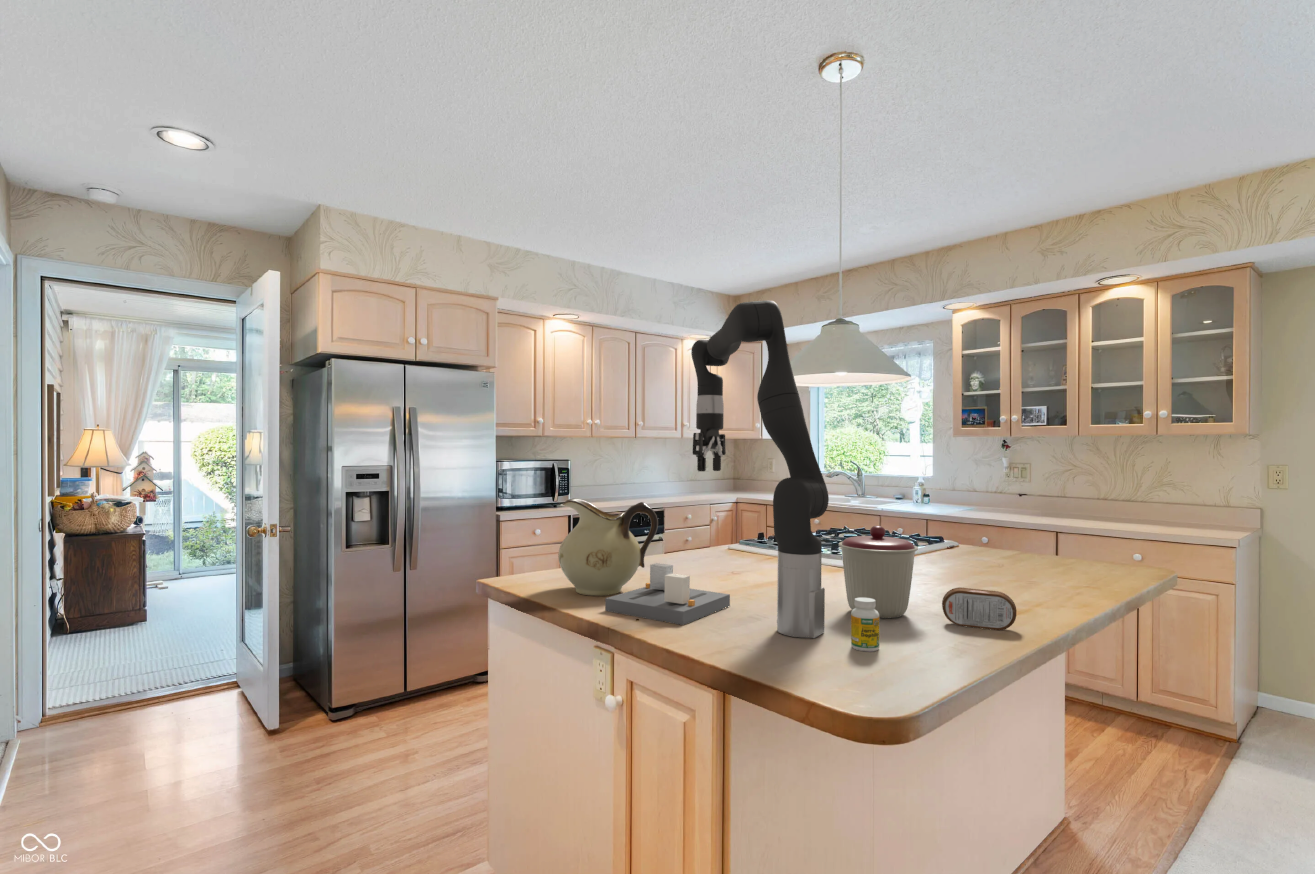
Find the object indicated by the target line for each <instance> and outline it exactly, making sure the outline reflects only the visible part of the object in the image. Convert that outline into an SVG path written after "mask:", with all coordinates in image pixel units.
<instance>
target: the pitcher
mask: <svg viewBox="0 0 1315 874" xmlns="http://www.w3.org/2000/svg"><path fill="white" fill-rule="evenodd" d="M562 506H563V507H567V508H570V509H573V510H574V511H576V512H577V514H578V516H579V520H578V523H577V524H576V525H575V526H574V528H573V529H572V530H571V531H570V532H569V533H568V534H567V535H566V536H565V537H564V539H563V540H562V542H561V544H560V546H559V549H558V563H559V567H560V568H561V571H562V574H563V575H564V576H565V577H566V578H567V580H568V581H569V582H570V583H571V584H572V585H573V586H574V587H575V592H576V593H577V594H580V595H584V596H590V597H603V596H607V597H608V596H611V595H612V596H614V595H618V594H620V593H621V592H622V588H623V587H624V586H625V585H626V584H627V583H628V582H629V581H630V580H631V579H632V578H633V577H634V575H635V574H636V572H637V571H638V568H639V567H641V568H642V569H643V568H645V555H646V552H647V550H648V548H649V546H650V545H651V542H652V541H653V540H654V538H655V536H656V534H657V531H658V527H659V519H658V515H657V513H656V512H655V511H654V509H653V508H652V507H651V506H649V505H648V504H647V503H645V502H644V501H641V502H638V503H636V504H633V505H631V506H630V507H628V508H627V509H626V510H625V512H623V511H622V512H620V513H619V514H611V513H609V512H606V511H603V510H602V509H600V508H598V507H597V506H595V505H594V504H592V503H591V502H589V501H587V500H583V499H581V498H576V497H575V498H570V499H567V500H566V501H564V502H563V503H562ZM636 514H645V515H647V516H648V518H649V520H650V529H649V532H648V534H647V537H646V538H645V540H644V541H643V543H642V545H641V546H640V544H639V541H638V540H637V538H636V537H635V535H634V534H633V533H632V532H631V530H630V524H631V521H632V518H633V516H635V515H636Z"/></svg>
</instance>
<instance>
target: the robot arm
mask: <svg viewBox="0 0 1315 874" xmlns="http://www.w3.org/2000/svg"><path fill="white" fill-rule="evenodd" d="M785 330H786V329H785V326H784V319H783V316H782V313H781V310H780V307H779V305H778V303H776V301H774V300H769V299H768V300H755V301H754V300H753V301H743V302H739V303H738V304H736V305H735V306H734V307H733V309H732V310H731V311H730V312H729V314H728V315H727V318H726V319H725V321H724V323H723V325H722V327H720V329H718V330H717V331H716V332H715V333H714V334H713V335H712V336H710V338H709V339H708V340H706V339H699V340H696V341H695V342H694V343H693V345H692V347H691V353H690V354H691V358H692V362H693V365H694V369H695V374H696V375H695V376H696V381H697V397H696V398H697V399H696V404H695V405H696V406H695V408H696V410H695V411H696V412H695V414H696V415H695V417H696V423H695V425H696V427H695V428H696V429H697V430H700V431H699V432H693V434H692V455H694V456H695V457H696V459H697V463H696V464H697V465H696V467H697V470H696V471H698V472H706V470H707V463H706V462H707V460H706V459H707V458H706V456H707V454H708V452H711V454H712V470H713V471H714V472H720V471H721V470H722V457H723V456H726V453H727V452H726V449H727V448H726V434H725V433H720V430H721V431H722V430H723V429H724V417H725V415H724V408H725V407H724V393H723V392H724V381H723V380H724V379H723V377H722V376H721V375H719V374H716V373H712V372H711V371H709V369H708V367H723V366H725V365H727V364H728V362H729V359H730V357H731V356H732V355H733V354H734V353H736V352H738V350H739V349H740V346H741V344H742V342H743V343H744V342H745V343H754V342H761V341H762V342H763V341H764V342H765V343H766V347H767V356H768V358H767V364H766V368H765V370H764V374H763V375H762V376H763V377H762V379H761V381H760V384H759V387H758V389H757V391H758V392H757V397H756V399H757V403H758V407H759V412H760V416H761V421H762V423H763V427H764V429H765V430H766V432H767V434H768V435H769V437H770V438H771V441H773V443H774V444H775V446H776V447H777V449H778V450H779V451H780V453H781V455H782V456H783V458H784V461H785V463H786V465H787V468H788V473H789V477H785V478H783V479H781V480H780V481H779V482H778V484H777V485H776V487H775V489H774V492H773V499H772V500H773V501H772V512H773V513H772V515H773V516H772V517H773V535H774V538H775V540H776V543H777V591H776V592H777V594H776V595H777V599H776V600H777V603H776V605H777V607H776V612H777V614H776V617H777V619H776V625H777V626H776V628H777V629H776V631H777V632H778V633H780V634H782V635H783V636H789V637H793V638H811V639H815V638H817V637H819V636H820V635H822V634H824V633H825V612H826V610H825V604H826V603H825V600H826V598H825V597H826V596H825V593H826V592H825V591H826V590H825V587H822V558H823V556H822V549H823V548H822V547H823V546H822V545H823V544H822V540H821V539H820V538H819V537H818V536H816V535H815V534H814V533H813V531H812V526H811V525H812V524H811V520H812V519H817V518H820V517H822V516H823V515H824V514H825V513H826V511H827V509H828V506H829V501H830V499H829V496H830V495H829V492H828V488H827V485H826V482H825V479H824V476H823V473H822V471H821V468H820V466H819V463H818V460H817V457H816V454H815V452H814V448H813V445H812V441H811V437H810V433H809V430H808V427H807V423H806V417H805V415H804V414H805V413H804V410H803V406H802V402H801V401H802V400H801V398H800V393H799V390H798V388H797V384H796V381H795V376H794V372H793V368H792V364H791V360H790V359H791V358H790V355H789V348H788V344H787V336H786V332H785ZM707 366H708V367H707Z"/></svg>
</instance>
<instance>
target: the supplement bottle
mask: <svg viewBox="0 0 1315 874" xmlns="http://www.w3.org/2000/svg"><path fill="white" fill-rule="evenodd" d="M854 605H855V607H856V608H855V609H853V610H851V612H850V630H851V631H850V635H851V636H850V637H851V638H850V645H851V647H852V649H854V650H856V651H858V652H859V651H860V652H870V653H871V652H876V651H878V650H879V649H880V618H879V613H878V611H876V610H875V609H874V608H875V606H876V601H875V600H874V599H871V598H855V601H854Z"/></svg>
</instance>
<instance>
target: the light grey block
mask: <svg viewBox="0 0 1315 874" xmlns="http://www.w3.org/2000/svg"><path fill="white" fill-rule="evenodd" d="M668 574H674V565H673V564H666V563H660V562H659V563H658V562H655V563H651V564H650V565H649V583H650V588H652V589H659V590H665V575H668Z"/></svg>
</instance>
